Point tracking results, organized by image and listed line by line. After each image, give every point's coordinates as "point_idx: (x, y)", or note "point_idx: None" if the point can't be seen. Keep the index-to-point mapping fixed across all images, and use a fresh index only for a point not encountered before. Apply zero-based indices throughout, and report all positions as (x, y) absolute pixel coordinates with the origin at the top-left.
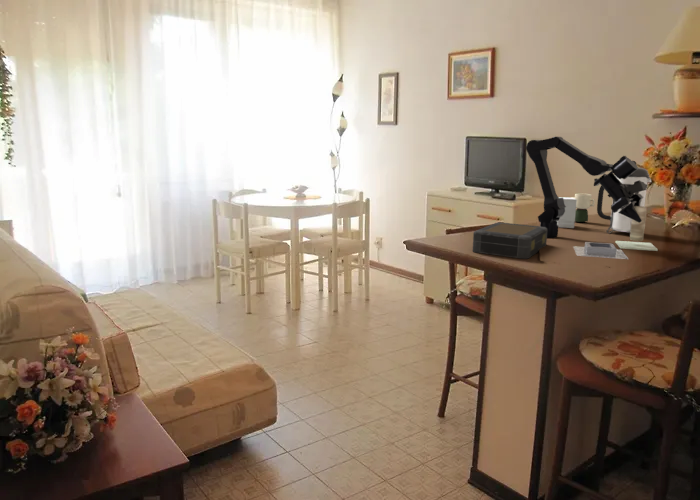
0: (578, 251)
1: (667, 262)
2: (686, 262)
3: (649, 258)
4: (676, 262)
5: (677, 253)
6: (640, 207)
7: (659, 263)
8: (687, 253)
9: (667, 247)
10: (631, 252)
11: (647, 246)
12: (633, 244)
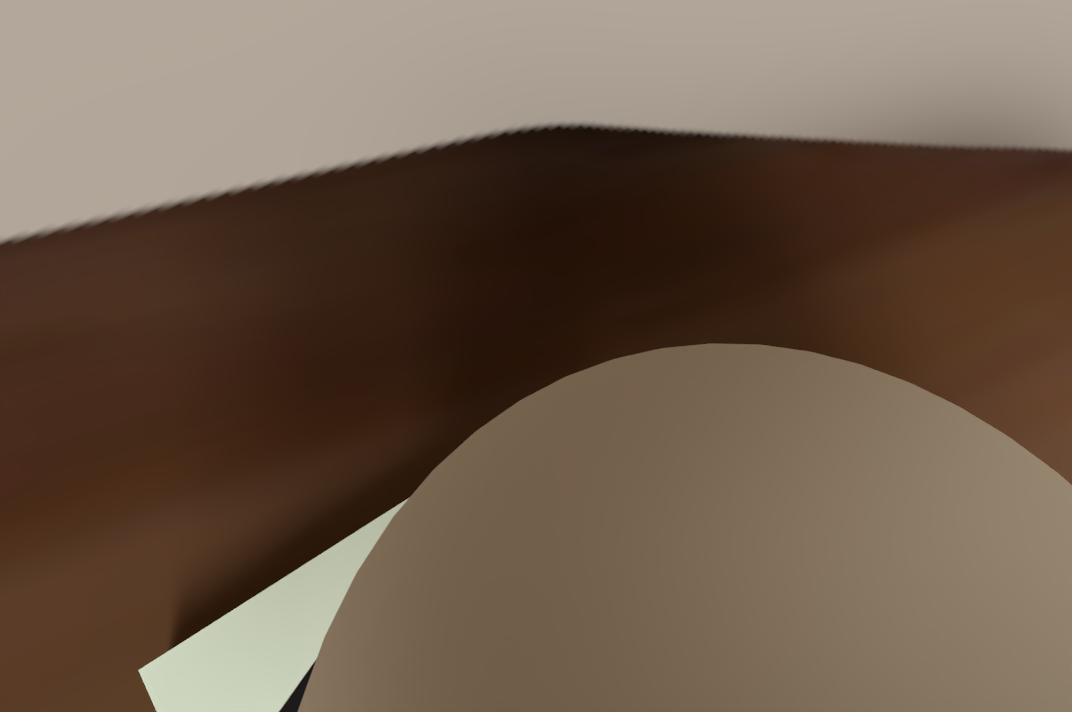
0: None
1: (854, 214)
2: (702, 132)
3: (869, 365)
4: (780, 174)
5: (361, 289)
6: (1048, 644)
7: (954, 239)
8: (274, 231)
9: (24, 496)
10: None
11: None
12: None
